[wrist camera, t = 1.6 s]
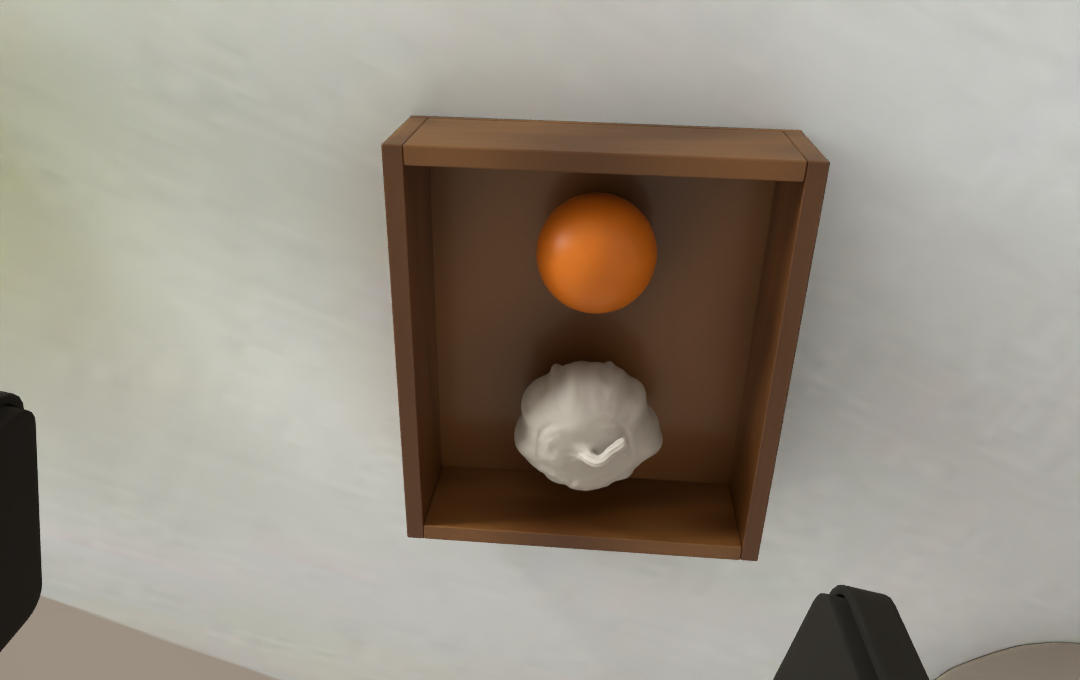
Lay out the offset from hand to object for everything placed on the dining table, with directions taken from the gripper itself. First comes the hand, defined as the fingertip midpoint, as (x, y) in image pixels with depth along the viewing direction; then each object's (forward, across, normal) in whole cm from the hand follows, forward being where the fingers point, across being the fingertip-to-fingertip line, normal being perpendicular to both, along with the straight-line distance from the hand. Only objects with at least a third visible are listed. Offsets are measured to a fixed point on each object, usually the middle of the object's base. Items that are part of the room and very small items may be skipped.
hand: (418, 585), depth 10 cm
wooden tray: (+24, -4, +6) cm, 25 cm away
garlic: (+24, -5, +10) cm, 26 cm away
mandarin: (+21, -3, +3) cm, 21 cm away
